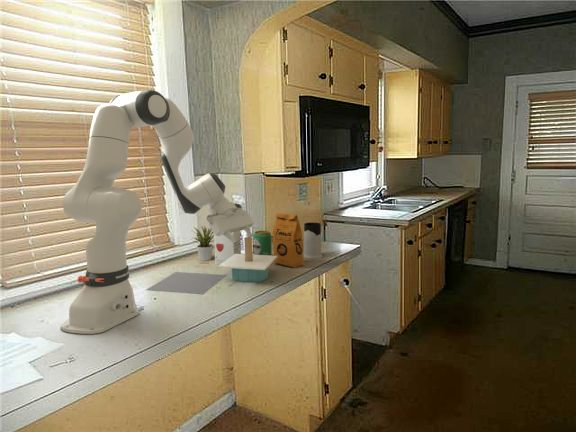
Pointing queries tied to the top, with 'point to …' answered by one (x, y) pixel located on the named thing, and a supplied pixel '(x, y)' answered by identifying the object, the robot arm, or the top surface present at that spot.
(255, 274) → the bowl
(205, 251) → the house plant
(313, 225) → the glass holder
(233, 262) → the peg on square base
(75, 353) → the top surface
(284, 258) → the coffee package
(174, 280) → the rubber mat
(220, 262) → the supplement box
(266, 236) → the beverage can
